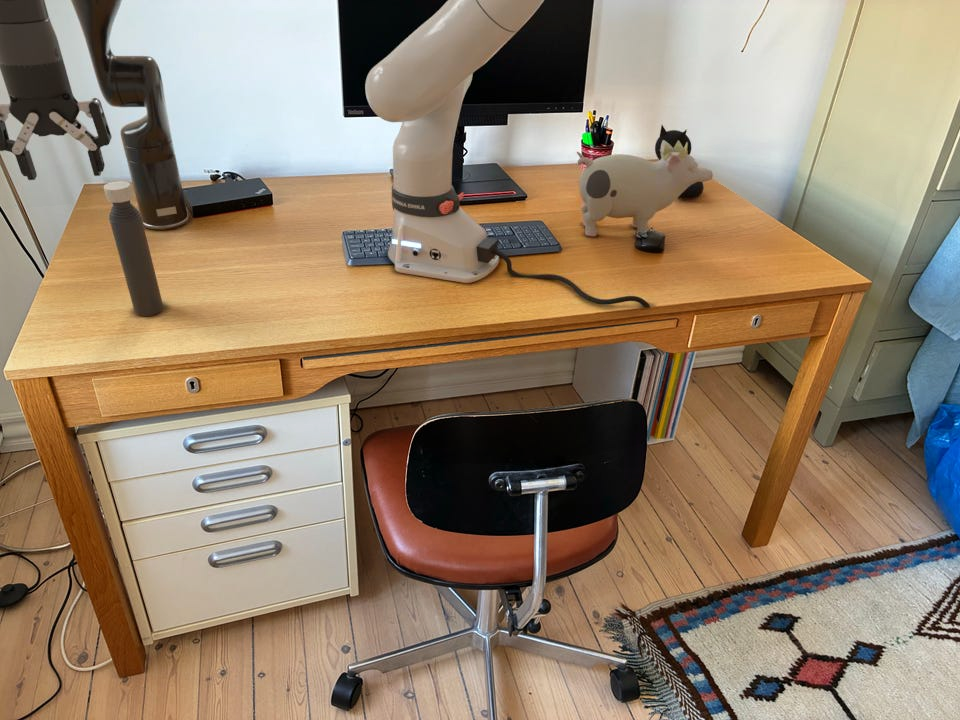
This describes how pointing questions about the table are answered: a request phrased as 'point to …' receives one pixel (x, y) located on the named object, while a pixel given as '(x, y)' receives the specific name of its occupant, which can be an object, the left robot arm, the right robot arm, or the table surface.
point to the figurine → (635, 185)
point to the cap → (118, 191)
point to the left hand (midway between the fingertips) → (65, 176)
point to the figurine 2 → (672, 139)
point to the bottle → (135, 258)
